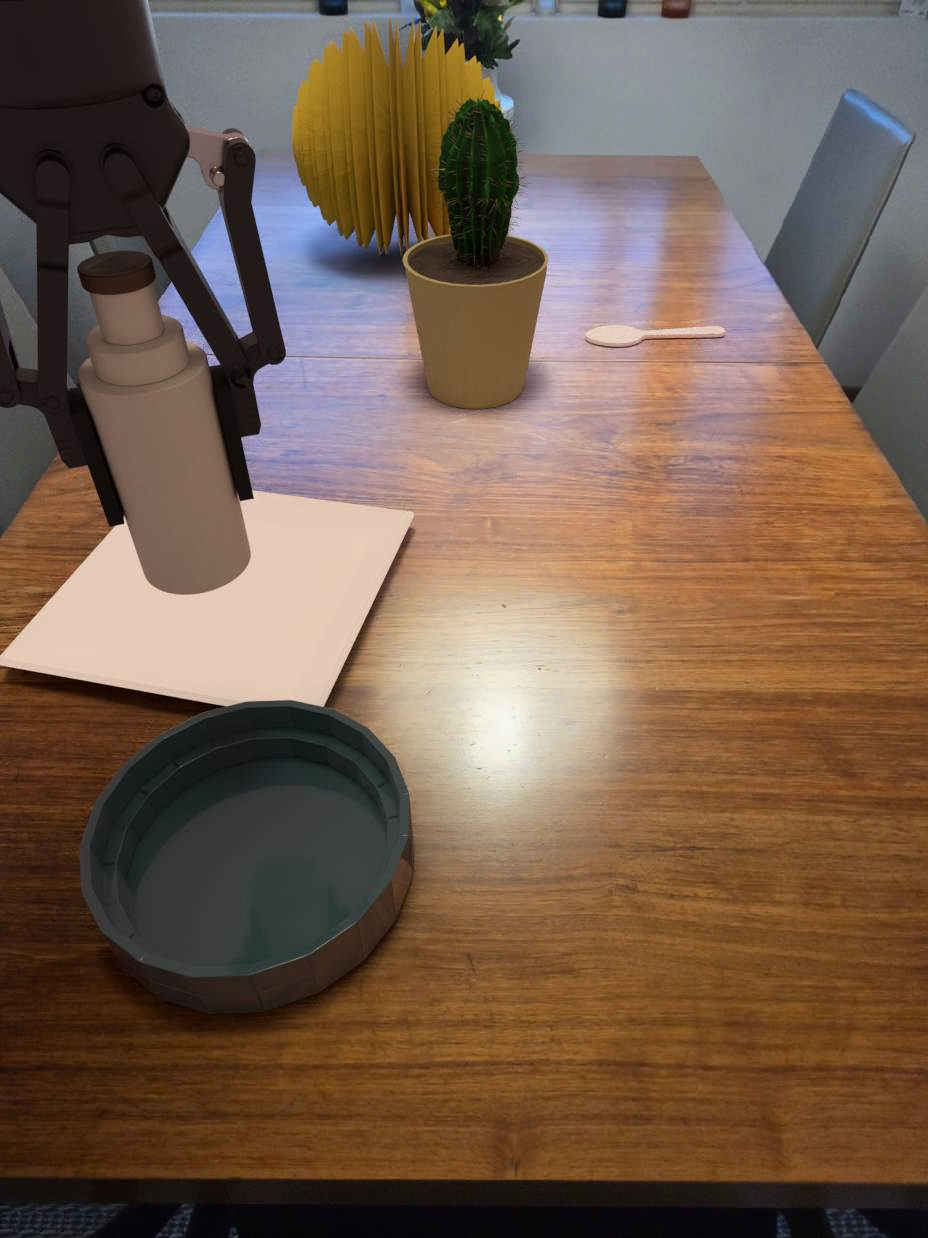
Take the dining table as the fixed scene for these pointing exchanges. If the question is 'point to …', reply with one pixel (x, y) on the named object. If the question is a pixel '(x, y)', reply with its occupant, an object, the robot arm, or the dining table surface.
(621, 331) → the spoon
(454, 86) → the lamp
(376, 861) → the bowl
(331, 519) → the beige square board
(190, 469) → the bottle
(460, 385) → the potted cactus
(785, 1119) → the dining table surface
